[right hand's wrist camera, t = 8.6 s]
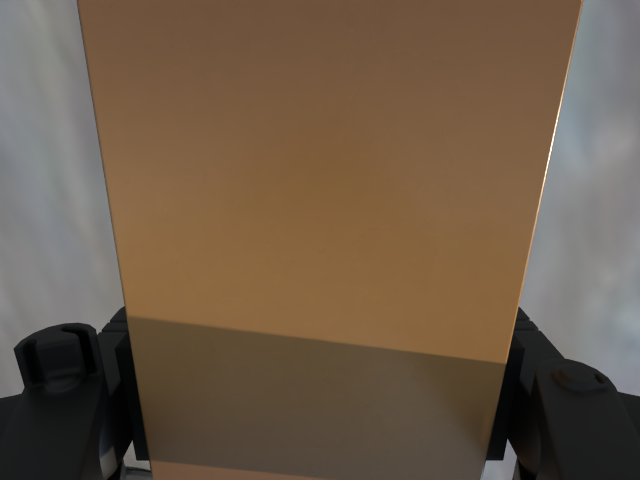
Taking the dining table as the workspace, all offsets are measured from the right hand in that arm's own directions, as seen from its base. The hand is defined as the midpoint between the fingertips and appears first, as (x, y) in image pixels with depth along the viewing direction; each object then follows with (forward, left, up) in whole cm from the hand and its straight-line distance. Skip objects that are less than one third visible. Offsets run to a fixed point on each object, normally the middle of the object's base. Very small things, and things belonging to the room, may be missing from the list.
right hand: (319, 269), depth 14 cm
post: (+12, +21, -1) cm, 25 cm away
